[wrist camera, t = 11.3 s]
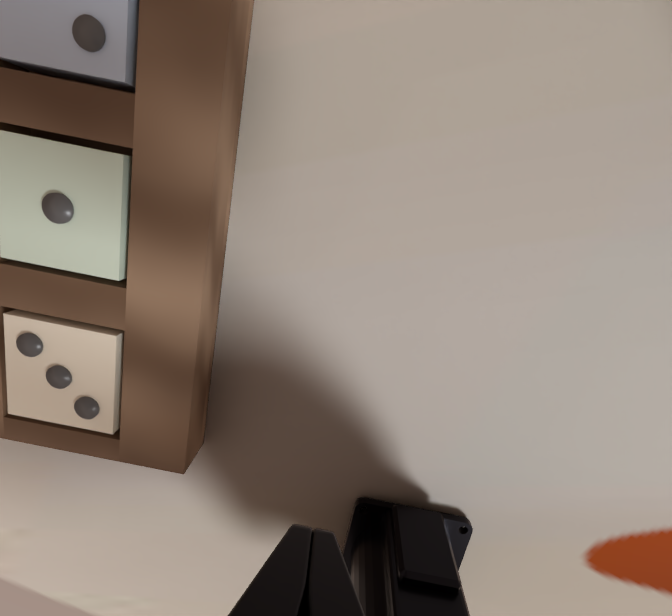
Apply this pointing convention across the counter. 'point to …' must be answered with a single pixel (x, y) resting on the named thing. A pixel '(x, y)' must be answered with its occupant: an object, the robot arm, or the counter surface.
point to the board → (145, 224)
